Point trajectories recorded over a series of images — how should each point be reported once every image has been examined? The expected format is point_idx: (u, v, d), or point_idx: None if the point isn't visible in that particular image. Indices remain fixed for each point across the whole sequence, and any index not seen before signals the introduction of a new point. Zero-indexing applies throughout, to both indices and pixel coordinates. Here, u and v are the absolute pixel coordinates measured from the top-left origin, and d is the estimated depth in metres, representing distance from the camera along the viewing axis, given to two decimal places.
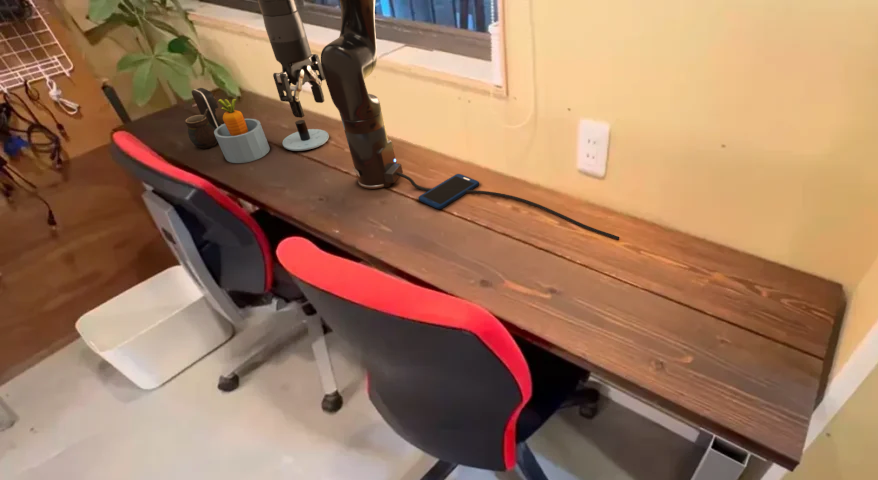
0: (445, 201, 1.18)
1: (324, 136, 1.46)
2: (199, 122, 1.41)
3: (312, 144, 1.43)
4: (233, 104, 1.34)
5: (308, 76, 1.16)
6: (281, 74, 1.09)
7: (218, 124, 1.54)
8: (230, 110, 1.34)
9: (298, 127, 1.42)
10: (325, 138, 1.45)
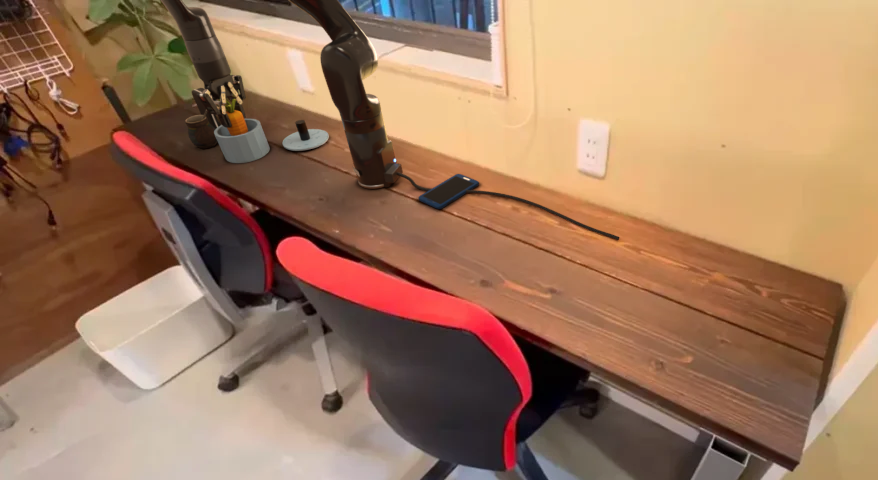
0: (445, 201, 1.18)
1: (324, 136, 1.46)
2: (199, 122, 1.41)
3: (312, 144, 1.43)
4: (233, 104, 1.34)
5: (228, 91, 1.32)
6: (203, 94, 1.26)
7: (218, 124, 1.54)
8: (230, 110, 1.34)
9: (298, 127, 1.42)
10: (325, 138, 1.45)
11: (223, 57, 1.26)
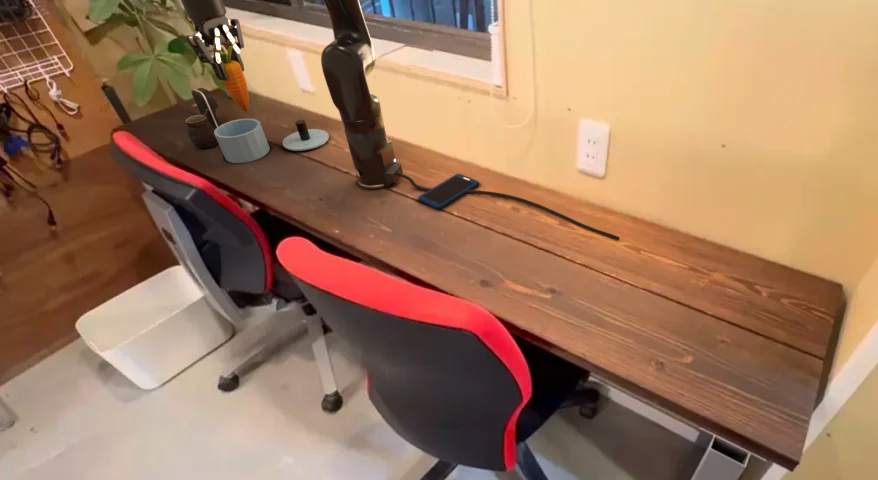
0: (445, 201, 1.18)
1: (324, 136, 1.46)
2: (199, 122, 1.41)
3: (312, 144, 1.43)
4: (229, 52, 1.14)
5: (224, 37, 1.12)
6: (193, 37, 1.06)
7: (218, 124, 1.54)
8: (226, 59, 1.14)
9: (298, 127, 1.42)
10: (325, 138, 1.45)
11: None
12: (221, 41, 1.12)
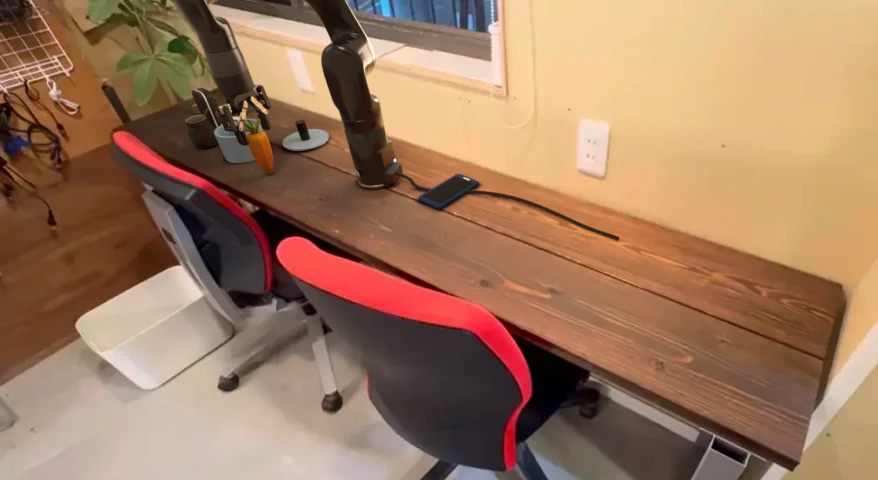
0: (445, 201, 1.18)
1: (324, 136, 1.46)
2: (199, 122, 1.41)
3: (312, 144, 1.43)
4: (257, 124, 1.25)
5: (253, 106, 1.22)
6: (223, 106, 1.15)
7: (218, 124, 1.54)
8: (254, 131, 1.25)
9: (298, 127, 1.42)
10: (325, 138, 1.45)
11: (246, 70, 1.16)
12: (251, 111, 1.22)
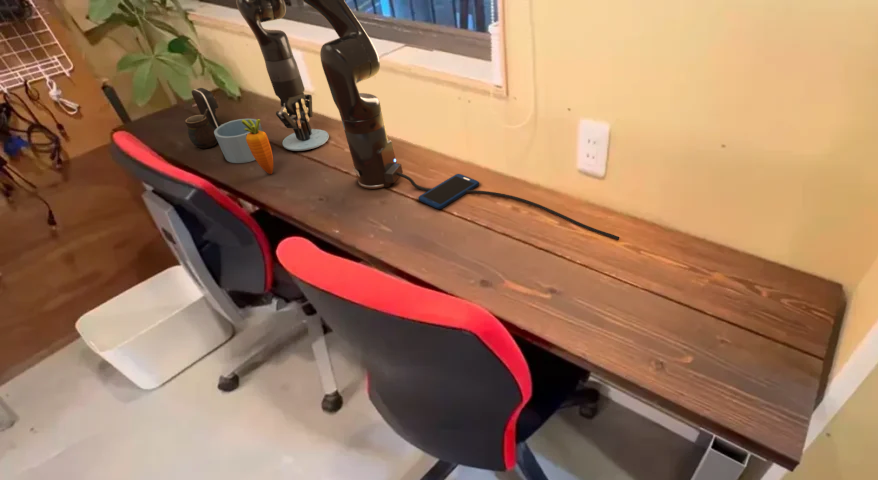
0: (445, 201, 1.18)
1: (324, 136, 1.46)
2: (199, 122, 1.41)
3: (312, 144, 1.43)
4: (257, 124, 1.25)
5: (300, 108, 1.40)
6: (282, 113, 1.34)
7: (218, 124, 1.54)
8: (254, 131, 1.25)
9: None
10: (325, 138, 1.45)
11: (299, 76, 1.34)
12: None
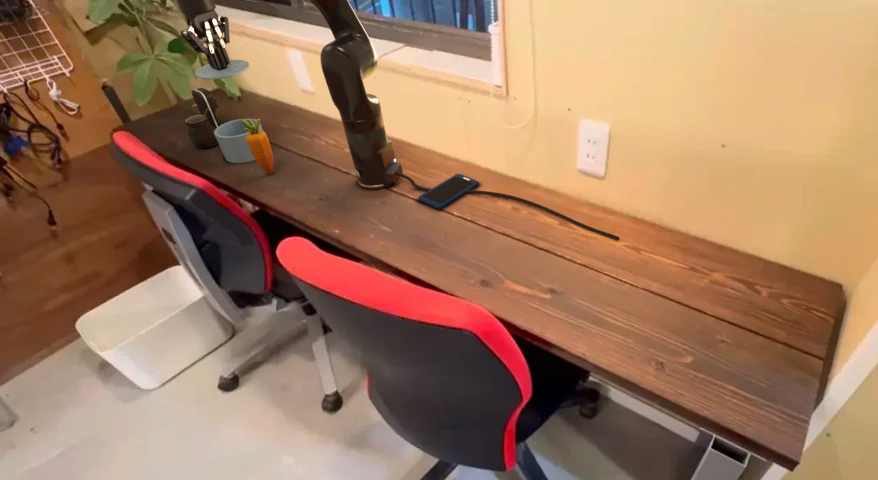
0: (445, 201, 1.18)
1: (244, 65, 1.29)
2: (199, 122, 1.41)
3: (227, 73, 1.26)
4: (257, 124, 1.25)
5: (212, 30, 1.23)
6: (187, 32, 1.17)
7: (218, 124, 1.54)
8: (254, 131, 1.25)
9: None
10: (244, 67, 1.28)
11: None
12: None
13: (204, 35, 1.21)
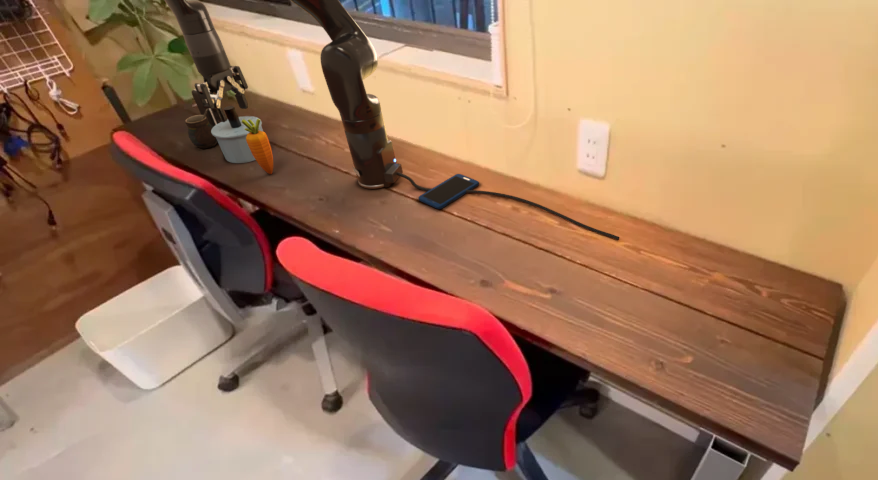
0: (445, 201, 1.18)
1: None
2: (199, 122, 1.41)
3: (242, 131, 1.35)
4: (257, 124, 1.25)
5: (230, 85, 1.32)
6: (201, 84, 1.24)
7: None
8: (254, 131, 1.25)
9: (227, 113, 1.34)
10: None
11: (222, 51, 1.25)
12: (228, 90, 1.32)
13: None
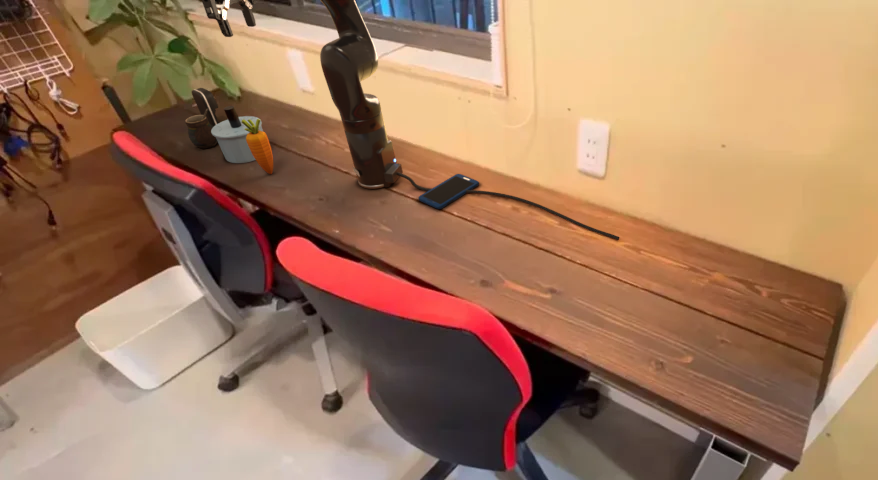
0: (445, 201, 1.18)
1: None
2: (199, 122, 1.41)
3: (242, 131, 1.35)
4: (257, 124, 1.25)
5: None
6: None
7: None
8: (254, 131, 1.25)
9: (227, 113, 1.34)
10: None
11: None
12: (235, 2, 1.22)
13: None
